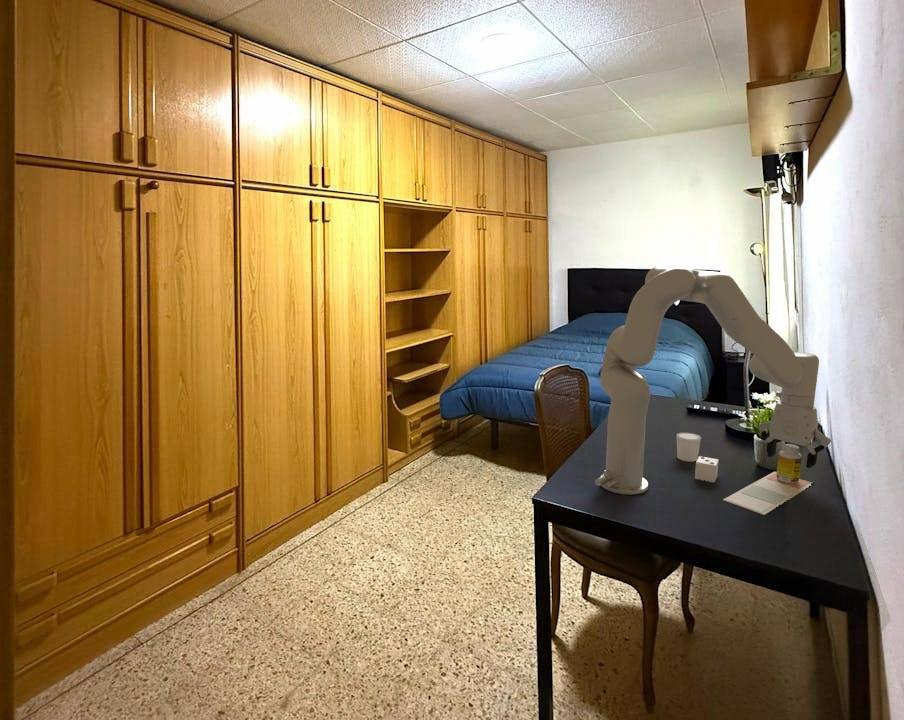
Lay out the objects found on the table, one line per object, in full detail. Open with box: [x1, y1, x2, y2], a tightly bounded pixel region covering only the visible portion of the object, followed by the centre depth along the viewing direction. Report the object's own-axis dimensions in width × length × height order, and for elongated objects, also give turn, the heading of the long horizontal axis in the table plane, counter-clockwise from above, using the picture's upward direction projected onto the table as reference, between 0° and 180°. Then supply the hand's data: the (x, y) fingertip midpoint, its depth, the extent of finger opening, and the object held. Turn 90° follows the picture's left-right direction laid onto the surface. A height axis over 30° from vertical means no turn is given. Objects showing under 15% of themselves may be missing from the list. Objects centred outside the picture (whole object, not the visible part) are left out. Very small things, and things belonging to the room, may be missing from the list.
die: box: [694, 455, 720, 484], centre depth 152 cm, size 5×5×5 cm
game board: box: [722, 471, 812, 516], centre depth 142 cm, size 28×10×1 cm, turn 126°
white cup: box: [676, 432, 702, 462], centre depth 165 cm, size 7×7×7 cm
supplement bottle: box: [776, 443, 803, 484], centre depth 148 cm, size 5×5×10 cm
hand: (790, 461), depth 147 cm, fingers open, 9 cm apart
